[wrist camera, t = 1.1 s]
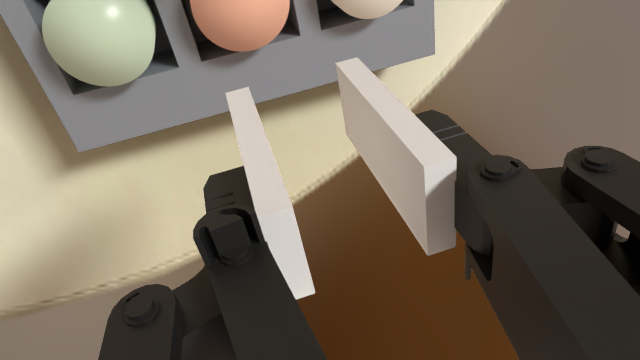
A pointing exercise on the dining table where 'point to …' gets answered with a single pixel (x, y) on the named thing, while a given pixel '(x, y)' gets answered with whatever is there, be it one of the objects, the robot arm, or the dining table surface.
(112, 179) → the dining table surface
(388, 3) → the button cream
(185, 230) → the dining table surface
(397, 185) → the robot arm
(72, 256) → the dining table surface
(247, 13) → the button terracotta
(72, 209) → the dining table surface
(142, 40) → the button sage
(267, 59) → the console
